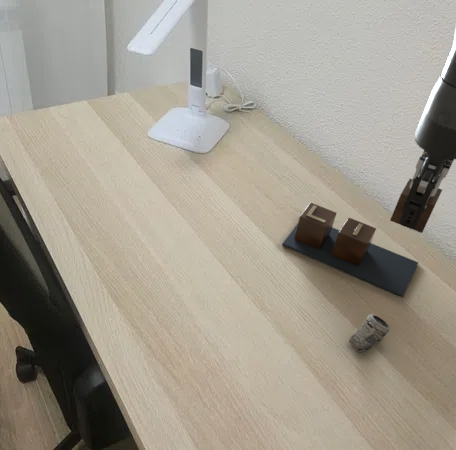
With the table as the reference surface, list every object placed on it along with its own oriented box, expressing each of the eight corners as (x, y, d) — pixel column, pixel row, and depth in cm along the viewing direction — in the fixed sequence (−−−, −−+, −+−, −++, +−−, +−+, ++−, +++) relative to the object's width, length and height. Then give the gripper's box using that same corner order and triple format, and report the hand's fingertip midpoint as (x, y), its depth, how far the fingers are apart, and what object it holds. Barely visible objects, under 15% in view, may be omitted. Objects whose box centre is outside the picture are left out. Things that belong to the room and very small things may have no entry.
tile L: (329, 235, 94) (337, 211, 91) (319, 250, 91) (326, 226, 88) (304, 224, 96) (310, 201, 93) (293, 239, 93) (299, 215, 90)
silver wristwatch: (388, 344, 78) (400, 321, 74) (357, 362, 75) (367, 339, 72) (370, 326, 80) (380, 304, 77) (338, 343, 77) (347, 320, 74)
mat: (417, 264, 90) (418, 262, 90) (402, 297, 84) (403, 296, 84) (303, 217, 98) (303, 215, 98) (282, 245, 92) (282, 243, 92)
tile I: (367, 250, 91) (376, 227, 88) (358, 266, 89) (367, 242, 85) (341, 239, 93) (348, 216, 90) (331, 254, 90) (338, 231, 87)
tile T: (430, 216, 82) (443, 188, 78) (422, 233, 79) (435, 204, 75) (398, 204, 84) (410, 177, 80) (389, 220, 81) (401, 192, 77)
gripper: (477, 148, 64) (425, 254, 75) (498, 100, 73) (449, 201, 84) (411, 127, 67) (371, 232, 78) (439, 84, 76) (399, 183, 87)
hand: (411, 215), depth 81 cm, fingers closed on tile T, 4 cm apart
